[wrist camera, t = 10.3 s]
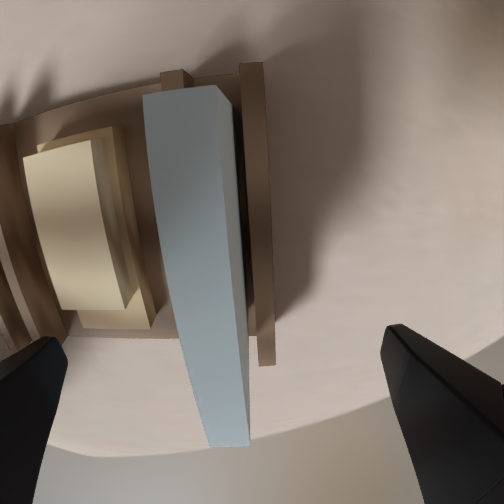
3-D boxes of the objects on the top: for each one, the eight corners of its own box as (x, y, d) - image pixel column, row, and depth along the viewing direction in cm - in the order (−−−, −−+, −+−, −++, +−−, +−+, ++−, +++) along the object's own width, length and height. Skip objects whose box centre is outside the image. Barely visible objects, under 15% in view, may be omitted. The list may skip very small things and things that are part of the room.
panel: (248, 309, 20) (250, 446, 11) (222, 310, 20) (209, 446, 11) (234, 107, 15) (215, 84, 6) (203, 109, 15) (142, 95, 6)
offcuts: (156, 314, 20) (144, 345, 17) (92, 314, 20) (74, 342, 17) (123, 125, 15) (98, 127, 12) (51, 142, 15) (20, 149, 12)
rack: (271, 325, 22) (275, 365, 18) (34, 325, 22) (12, 354, 18) (259, 75, 15) (262, 62, 12) (-16, 138, 15) (-52, 146, 12)
